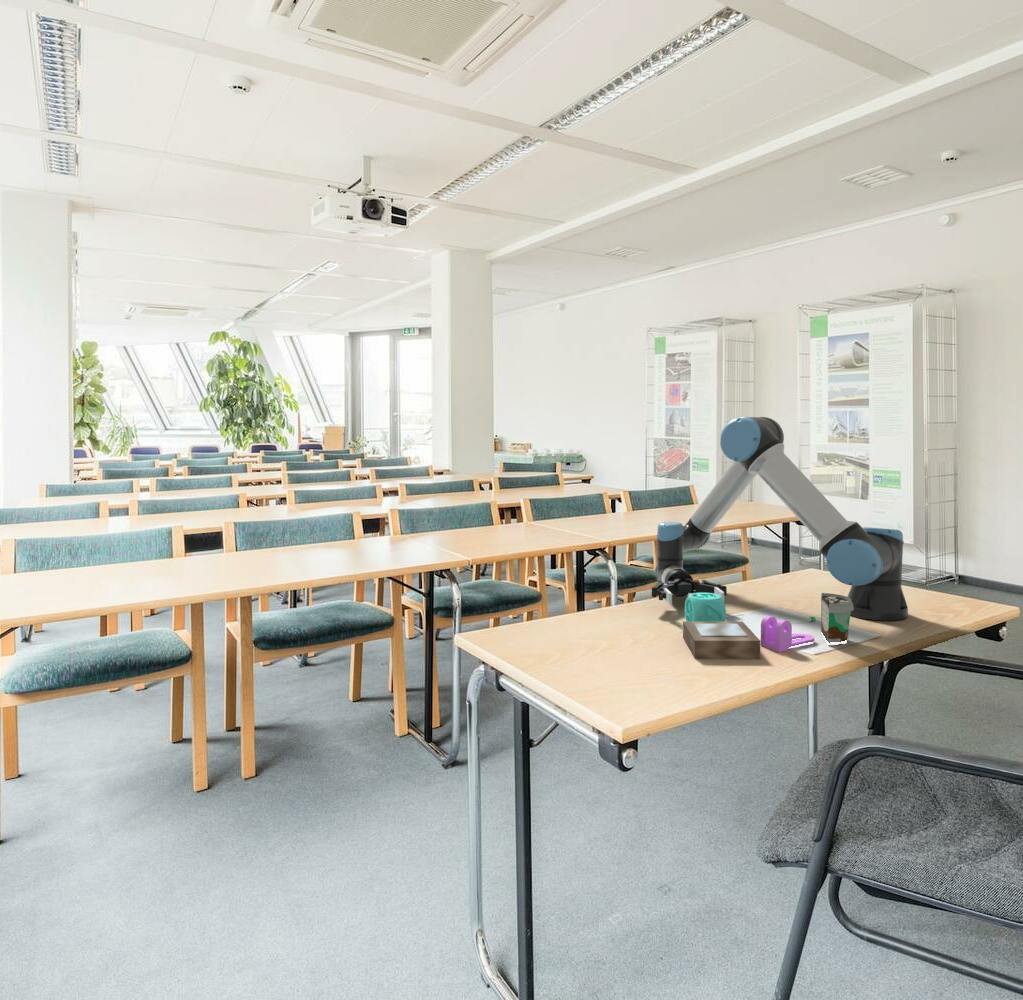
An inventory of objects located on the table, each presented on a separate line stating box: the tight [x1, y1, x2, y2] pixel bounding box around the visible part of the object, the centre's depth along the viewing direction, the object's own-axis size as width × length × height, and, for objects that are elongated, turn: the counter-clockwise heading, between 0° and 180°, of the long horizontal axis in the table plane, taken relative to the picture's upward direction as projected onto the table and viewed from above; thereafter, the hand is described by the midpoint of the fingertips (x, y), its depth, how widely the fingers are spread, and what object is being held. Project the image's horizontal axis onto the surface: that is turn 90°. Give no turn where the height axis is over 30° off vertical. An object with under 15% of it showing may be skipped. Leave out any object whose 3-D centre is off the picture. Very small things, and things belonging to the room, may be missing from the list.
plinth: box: [682, 621, 761, 660], centre depth 172 cm, size 14×16×4 cm
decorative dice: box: [684, 593, 727, 622], centre depth 190 cm, size 8×8×8 cm
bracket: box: [760, 615, 815, 653], centre depth 174 cm, size 13×6×7 cm, turn 119°
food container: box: [820, 592, 854, 643], centre depth 176 cm, size 12×6×10 cm, turn 166°
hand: (696, 598), depth 196 cm, fingers open, 13 cm apart
